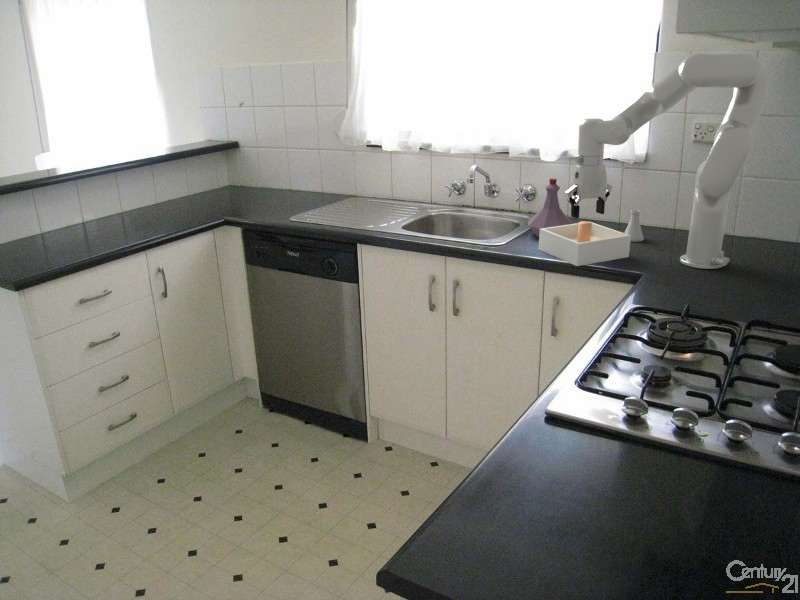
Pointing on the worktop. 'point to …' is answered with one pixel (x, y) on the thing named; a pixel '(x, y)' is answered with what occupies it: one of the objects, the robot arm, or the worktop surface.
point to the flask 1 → (549, 211)
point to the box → (584, 244)
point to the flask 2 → (634, 227)
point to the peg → (584, 231)
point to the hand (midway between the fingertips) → (587, 215)
